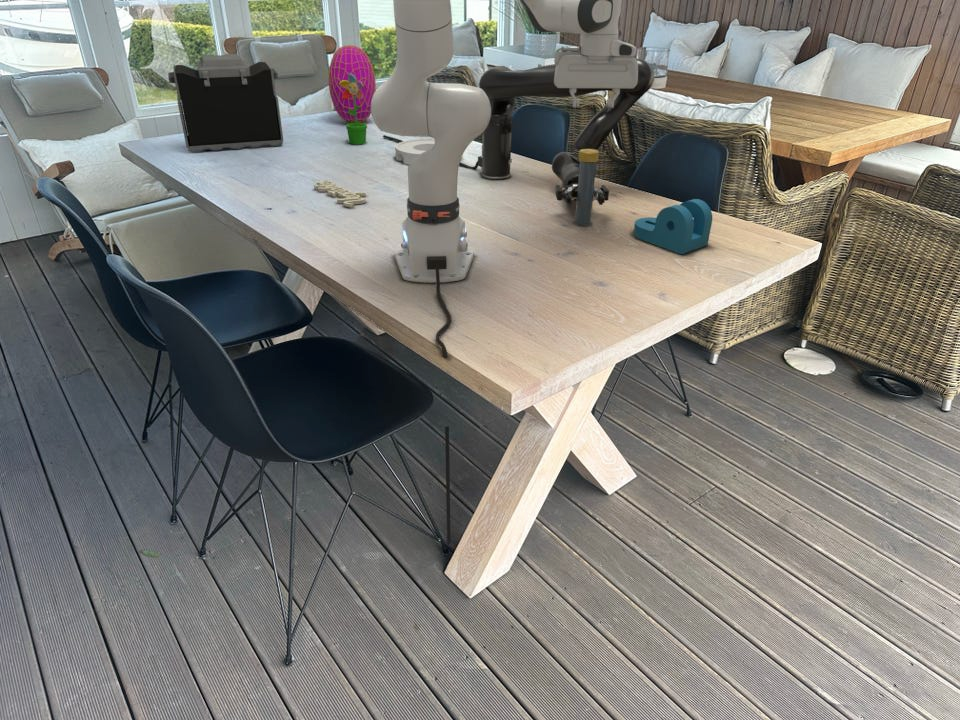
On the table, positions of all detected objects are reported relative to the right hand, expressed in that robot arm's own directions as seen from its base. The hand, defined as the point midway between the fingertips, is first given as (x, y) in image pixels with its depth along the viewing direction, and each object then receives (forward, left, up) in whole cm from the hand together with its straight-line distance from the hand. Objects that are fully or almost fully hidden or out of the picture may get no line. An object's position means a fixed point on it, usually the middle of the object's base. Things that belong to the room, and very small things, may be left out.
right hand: (586, 201), depth 181 cm
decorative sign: (-54, -51, -7) cm, 74 cm away
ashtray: (-83, -10, -7) cm, 84 cm away
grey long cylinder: (-2, +1, -7) cm, 7 cm away
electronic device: (-132, -69, -7) cm, 149 cm away
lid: (-2, +1, +12) cm, 12 cm away
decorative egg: (-150, -16, -7) cm, 151 cm away
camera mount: (+18, +13, -7) cm, 23 cm away
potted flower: (-114, -26, -7) cm, 117 cm away
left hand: (-2, +1, +23) cm, 23 cm away
